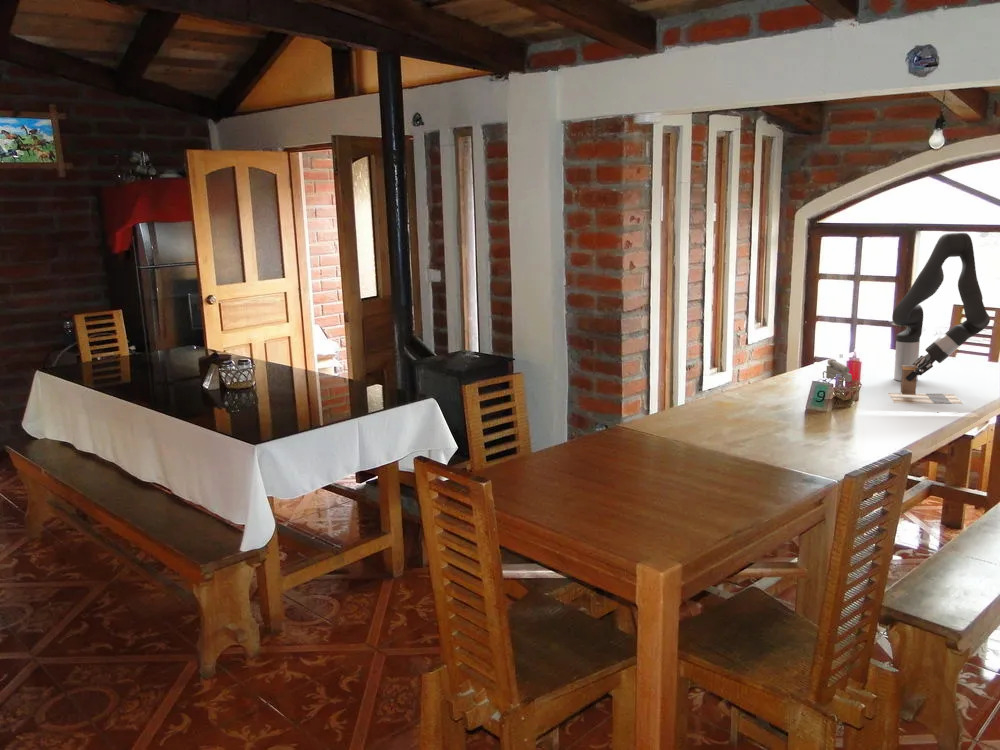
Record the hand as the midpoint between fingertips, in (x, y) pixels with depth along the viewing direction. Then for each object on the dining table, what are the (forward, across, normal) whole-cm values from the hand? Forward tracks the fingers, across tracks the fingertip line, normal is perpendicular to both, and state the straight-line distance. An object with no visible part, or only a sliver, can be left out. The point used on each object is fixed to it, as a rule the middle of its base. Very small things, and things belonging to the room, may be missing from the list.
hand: (906, 378), depth 324 cm
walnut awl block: (+4, 0, +5) cm, 6 cm away
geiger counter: (+25, -11, -11) cm, 29 cm away
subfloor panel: (+2, 0, +12) cm, 12 cm away
